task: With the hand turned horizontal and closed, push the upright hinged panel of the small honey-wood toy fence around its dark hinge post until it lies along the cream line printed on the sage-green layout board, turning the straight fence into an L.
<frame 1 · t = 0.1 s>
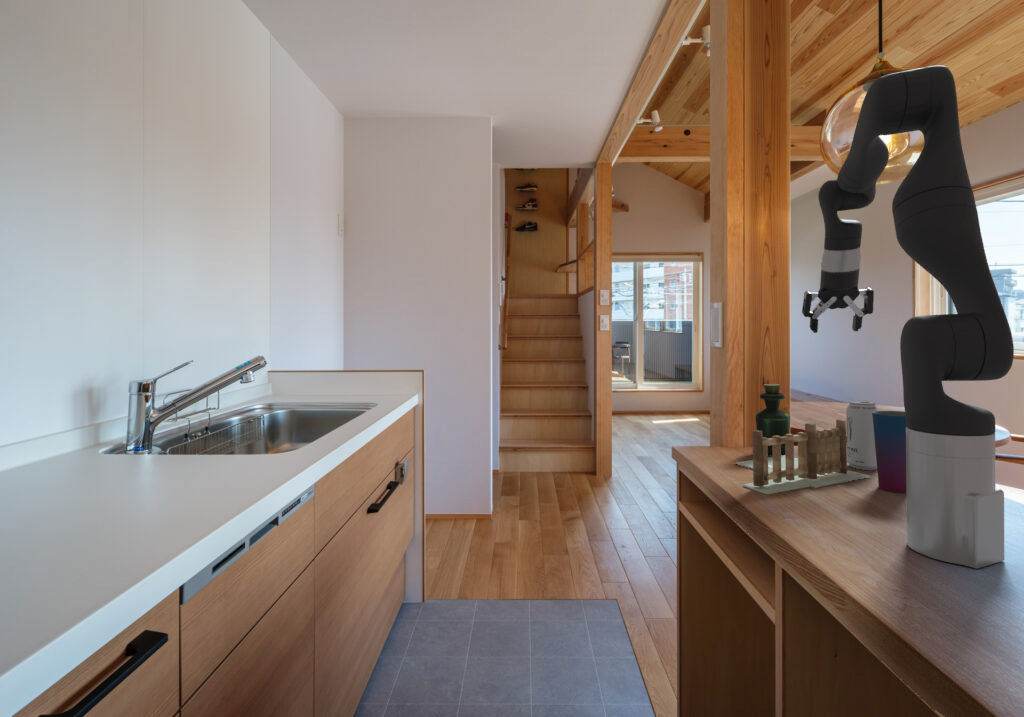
hand: (834, 331, 119), 31 cm above the counter, tool tilted 20°, fingers open, 8 cm apart
layout board: (798, 470, 110), on the counter
fixed fence panel: (811, 480, 102), resting on layout board
cup: (894, 490, 95), on the counter
energy drink can: (863, 468, 110), on the counter
potion bottle: (773, 453, 126), on the counter
swing panel: (780, 454, 99), point 6 cm above the counter, hinge at 90.0°
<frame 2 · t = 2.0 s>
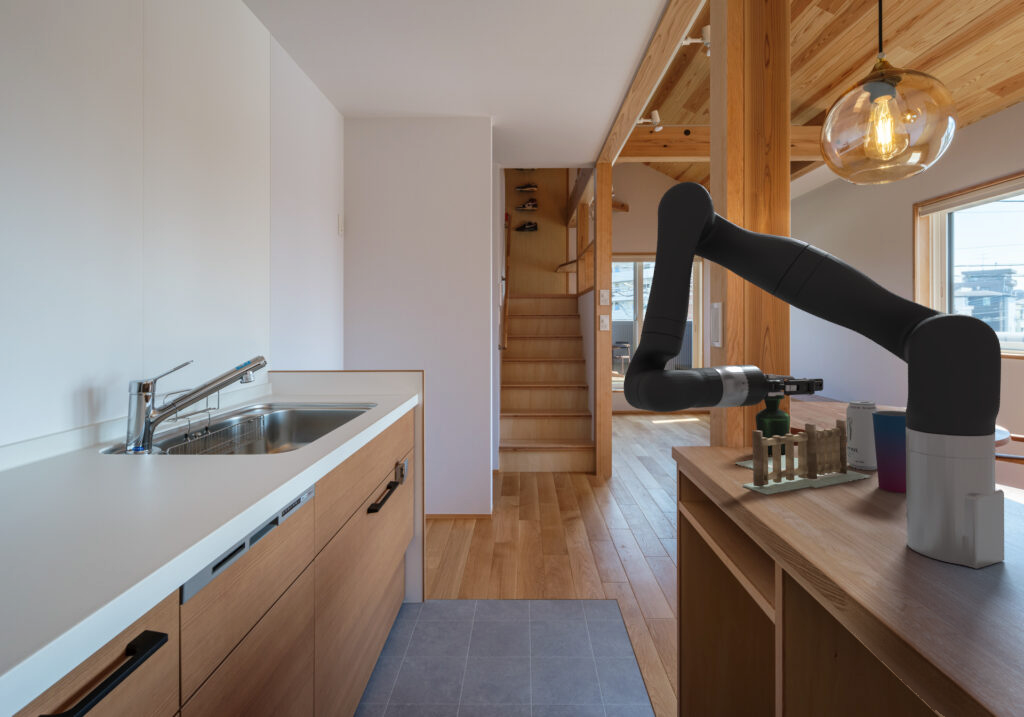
hand: (801, 382, 92), 22 cm above the counter, tool horizontal, fingers open, 8 cm apart
nothing on the counter moved.
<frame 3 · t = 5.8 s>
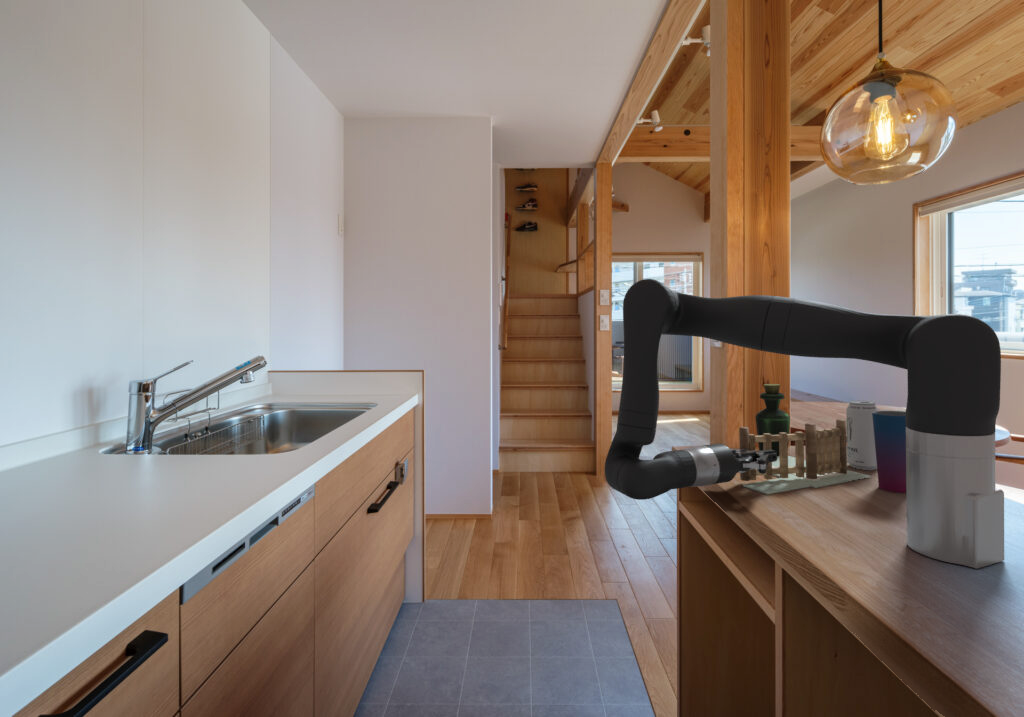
hand: (774, 454, 99), 7 cm above the counter, tool horizontal, fingers closed
swing panel: (772, 452, 101), point 6 cm above the counter, hinge at 73.9°, touching gripper
everything else where it was.
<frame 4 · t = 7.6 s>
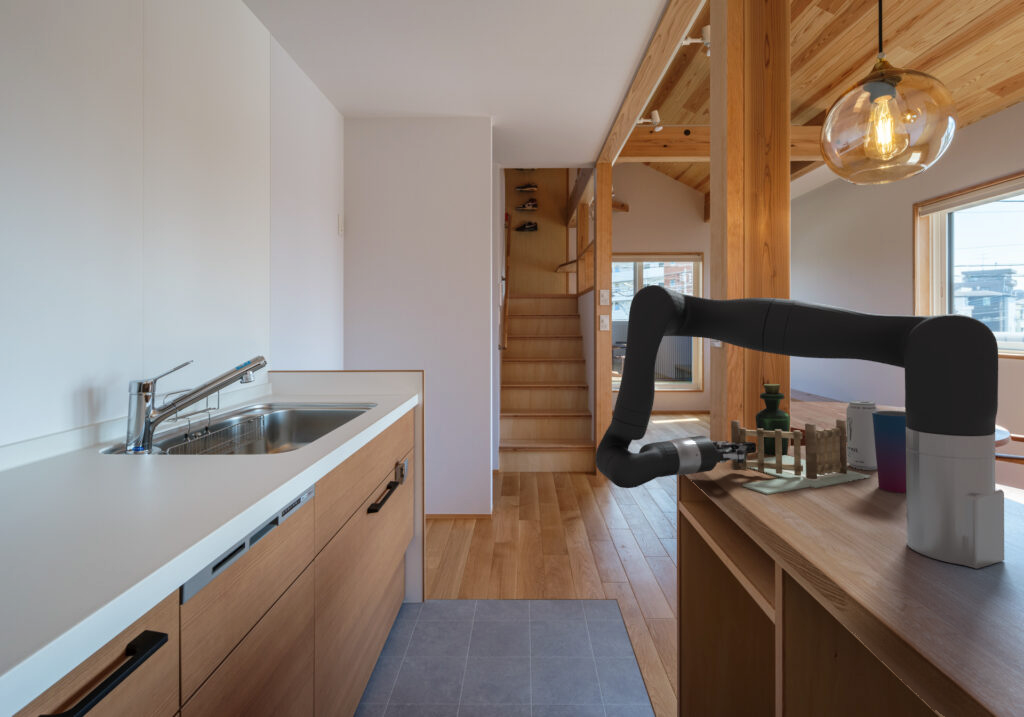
hand: (753, 446, 107), 6 cm above the counter, tool horizontal, fingers closed
swing panel: (765, 447, 106), point 6 cm above the counter, hinge at 40.8°, touching gripper
everything else where it was.
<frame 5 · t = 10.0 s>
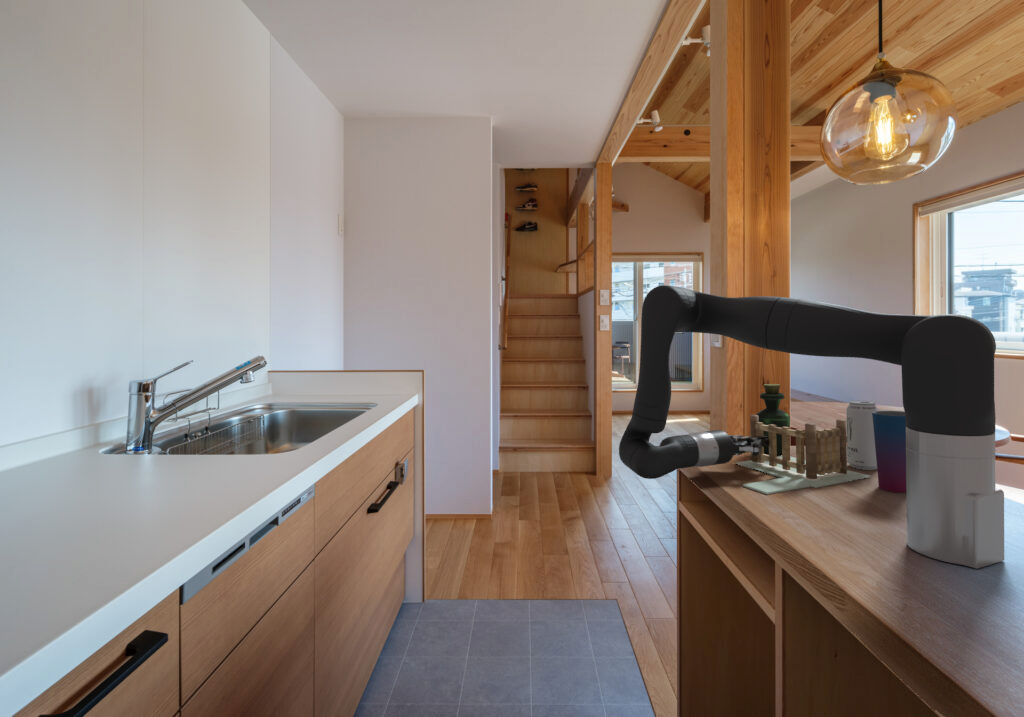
hand: (766, 440, 112), 6 cm above the counter, tool horizontal, fingers closed
swing panel: (776, 442, 110), point 6 cm above the counter, hinge at 1.1°, touching gripper
everything else where it was.
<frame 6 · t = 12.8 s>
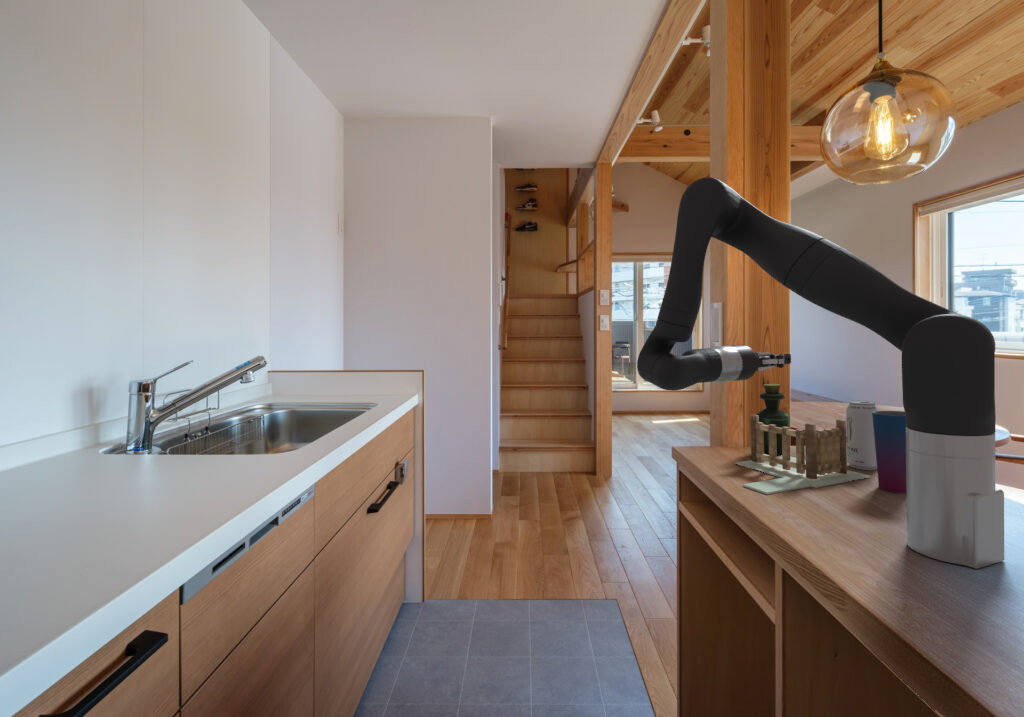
hand: (787, 358, 107), 26 cm above the counter, tool horizontal, fingers closed
swing panel: (776, 442, 110), point 6 cm above the counter, hinge at 0.9°
everything else where it was.
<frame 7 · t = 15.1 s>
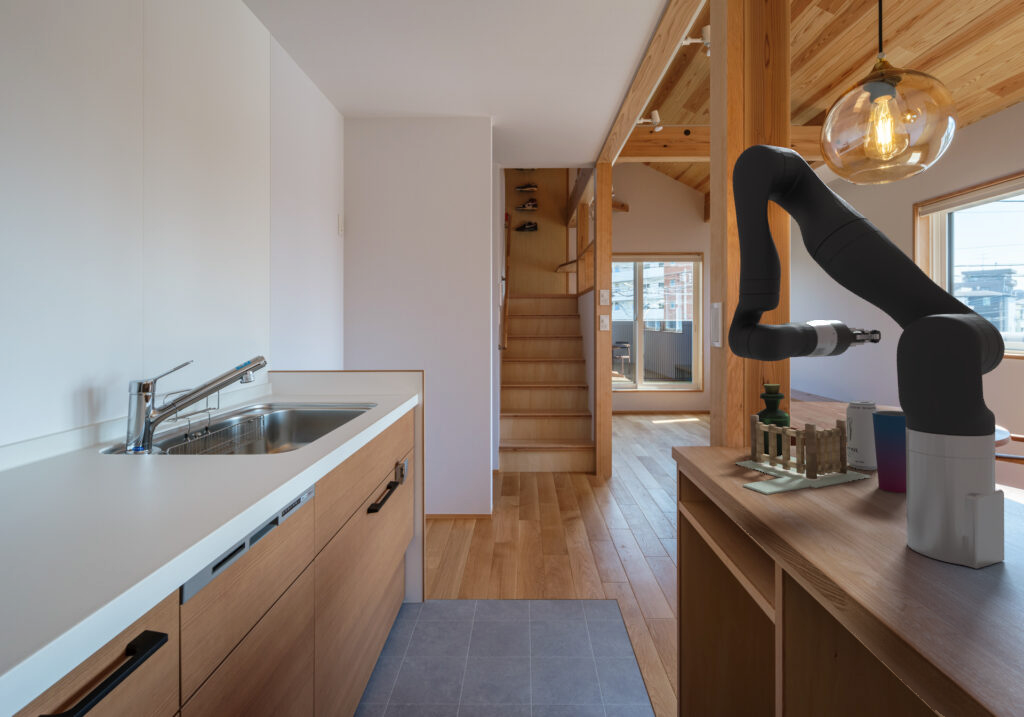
hand: (876, 335, 105), 30 cm above the counter, tool horizontal, fingers closed
nothing on the counter moved.
at the end: swing panel at +1° (first picture: +90°) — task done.
